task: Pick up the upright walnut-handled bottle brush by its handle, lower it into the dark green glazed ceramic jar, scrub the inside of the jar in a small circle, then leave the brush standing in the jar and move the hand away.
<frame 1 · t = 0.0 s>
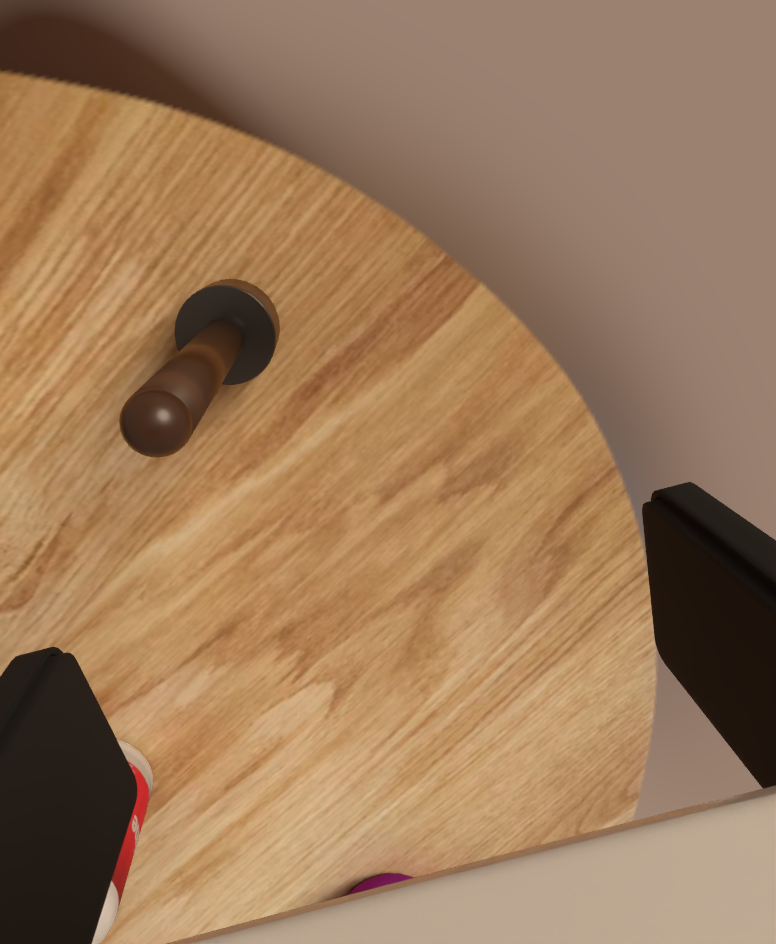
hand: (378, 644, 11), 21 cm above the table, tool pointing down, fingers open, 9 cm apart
pill bottle: (100, 770, 37), on the table
decorative egg: (386, 899, 43), on the table
brush: (234, 325, 29), on the table
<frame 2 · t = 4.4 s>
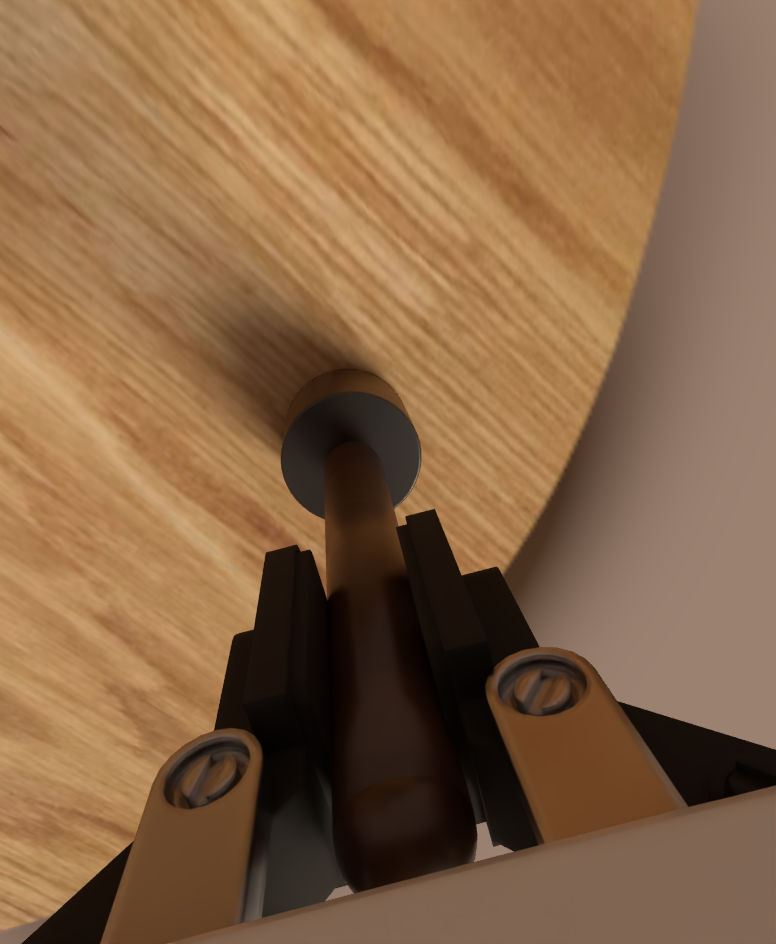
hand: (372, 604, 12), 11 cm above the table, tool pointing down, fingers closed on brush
brush: (347, 429, 21), on the table, touching gripper
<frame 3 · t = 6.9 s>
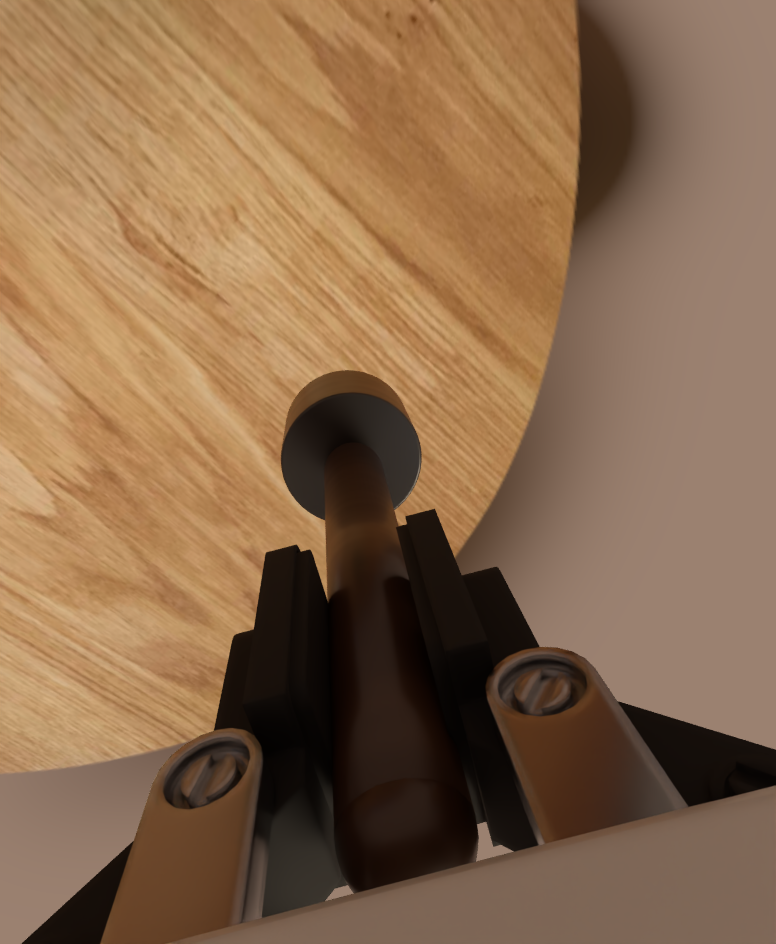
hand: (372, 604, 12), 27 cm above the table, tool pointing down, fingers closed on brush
brush: (347, 430, 21), point 17 cm above the table, touching gripper
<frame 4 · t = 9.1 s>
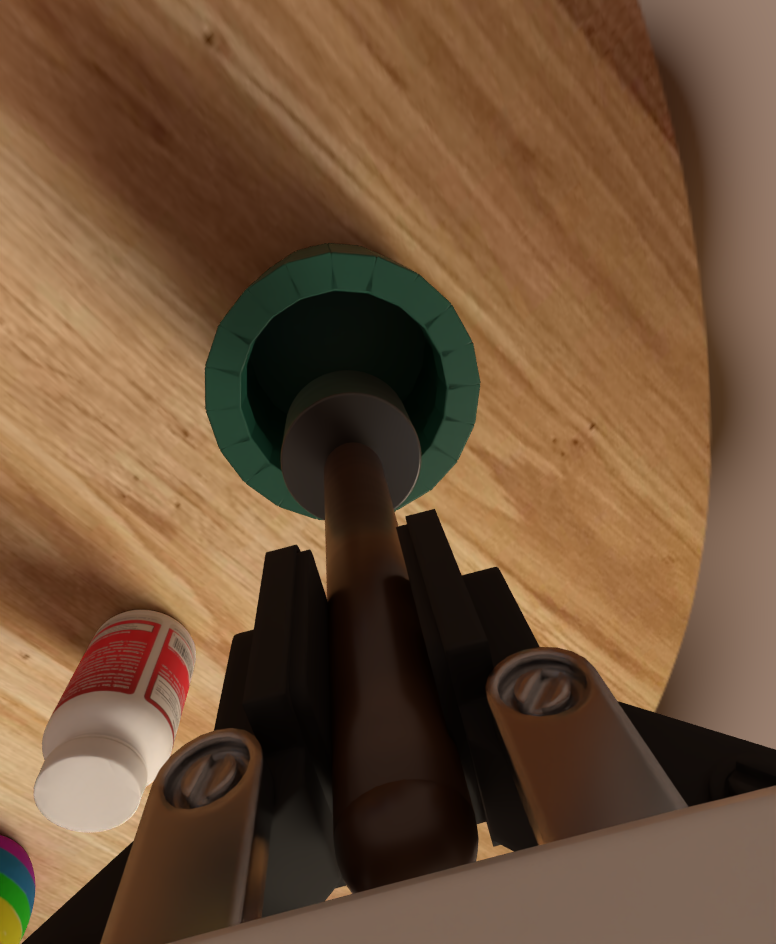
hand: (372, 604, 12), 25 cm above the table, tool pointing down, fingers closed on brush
pill bottle: (147, 647, 40), on the table
brush: (347, 430, 21), point 14 cm above the table, touching gripper
jar: (337, 345, 35), on the table
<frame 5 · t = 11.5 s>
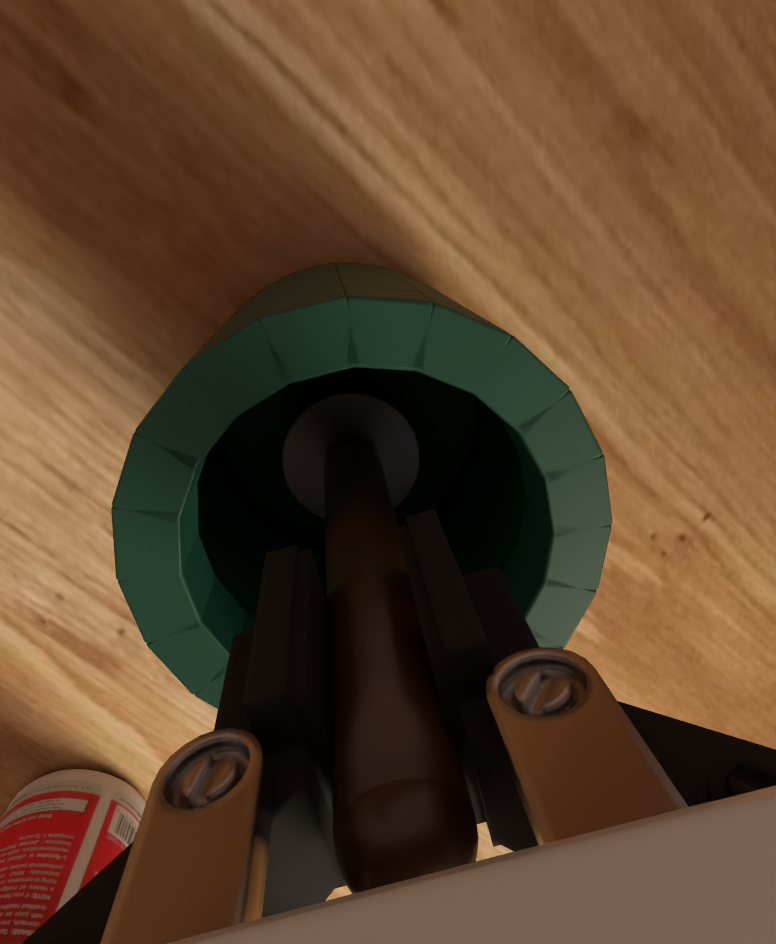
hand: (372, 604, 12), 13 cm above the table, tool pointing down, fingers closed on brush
pill bottle: (86, 812, 29), on the table
brush: (347, 430, 21), point 3 cm above the table, touching gripper
jar: (349, 410, 24), on the table
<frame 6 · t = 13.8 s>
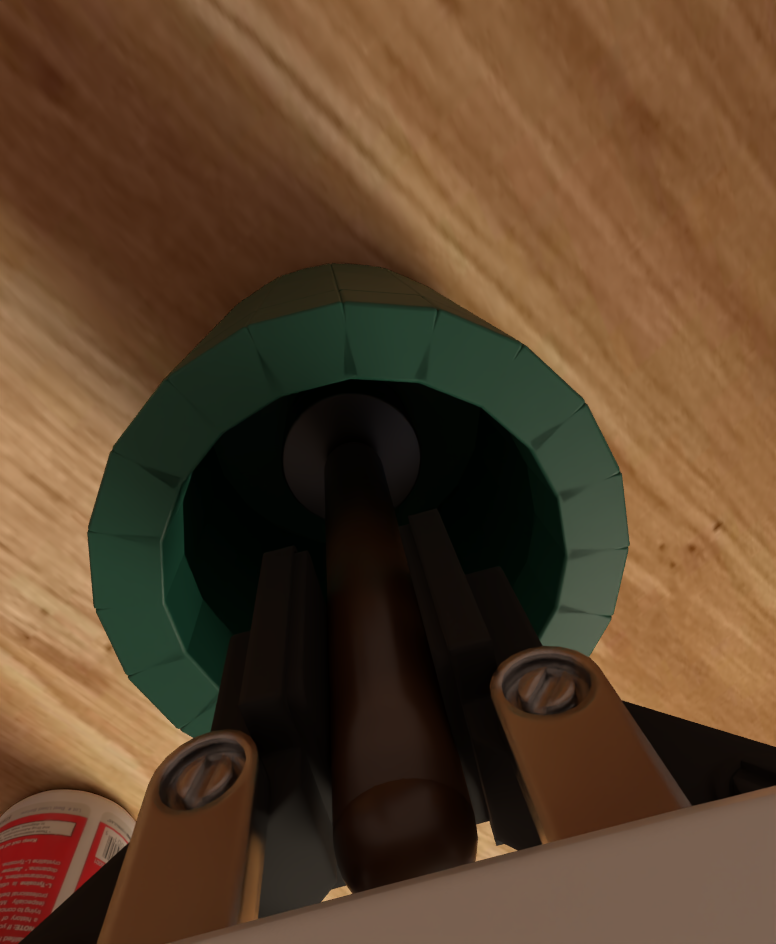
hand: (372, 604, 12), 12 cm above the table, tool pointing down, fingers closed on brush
pill bottle: (74, 833, 28), on the table
brush: (347, 430, 21), point 1 cm above the table, touching gripper
jar: (346, 417, 23), on the table
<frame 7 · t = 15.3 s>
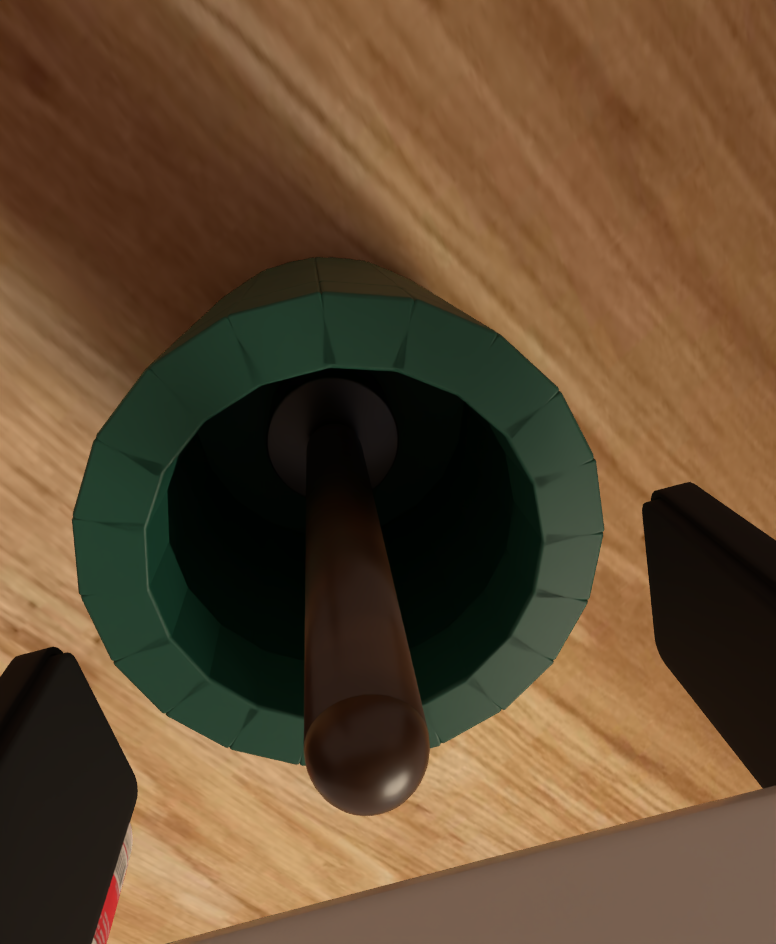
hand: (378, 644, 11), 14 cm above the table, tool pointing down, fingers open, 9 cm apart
pill bottle: (63, 825, 29), on the table
brush: (330, 414, 22), point 1 cm above the table, touching jar
jar: (331, 410, 23), on the table
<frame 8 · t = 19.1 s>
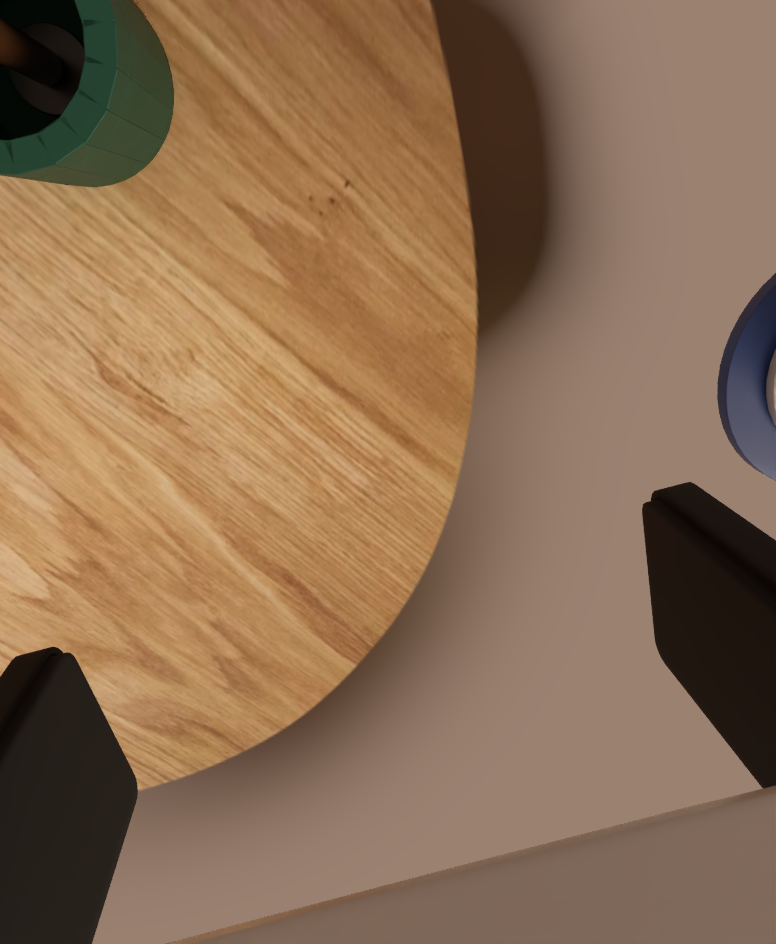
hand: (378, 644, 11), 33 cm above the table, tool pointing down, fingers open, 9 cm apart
brush: (71, 81, 35), point 1 cm above the table, touching jar
jar: (76, 84, 36), on the table
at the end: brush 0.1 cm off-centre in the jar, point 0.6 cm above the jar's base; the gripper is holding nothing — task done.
